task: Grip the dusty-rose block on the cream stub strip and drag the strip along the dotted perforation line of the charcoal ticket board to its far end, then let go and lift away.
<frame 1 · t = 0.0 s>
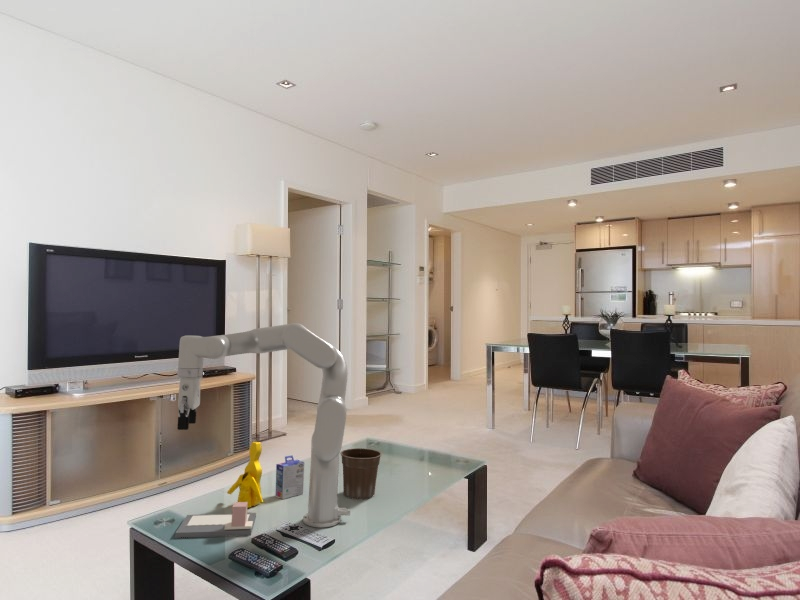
hand: (186, 426, 159), 31 cm above the table, tool pointing down, fingers open, 9 cm apart
plant pot: (359, 494, 192), on the table
ticket board: (217, 527, 156), on the table
stub: (239, 515, 153), point 5 cm above the table, slide at 0.0 cm
figure statuette: (248, 505, 176), on the table
ink cartridge box: (289, 495, 188), on the table
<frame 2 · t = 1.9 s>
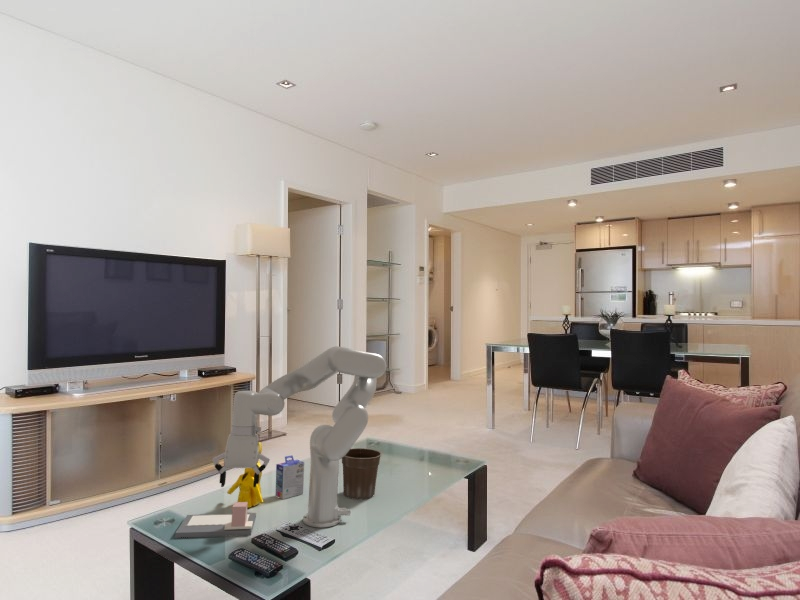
hand: (239, 485, 153), 14 cm above the table, tool pointing down, fingers open, 9 cm apart
nothing on the table moved.
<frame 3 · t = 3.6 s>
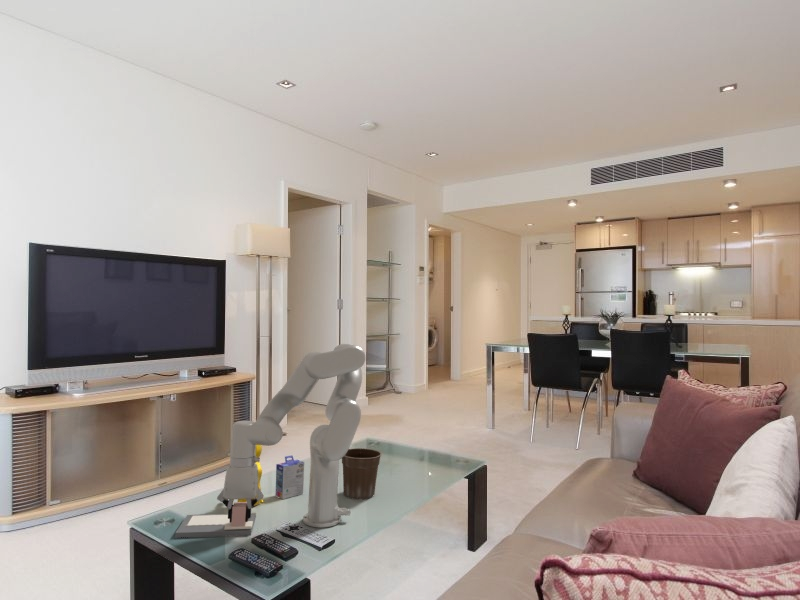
hand: (239, 520, 153), 4 cm above the table, tool pointing down, fingers closed on stub, 4 cm apart
stub: (239, 515, 153), point 5 cm above the table, slide at 0.0 cm, touching gripper
everything else where it was.
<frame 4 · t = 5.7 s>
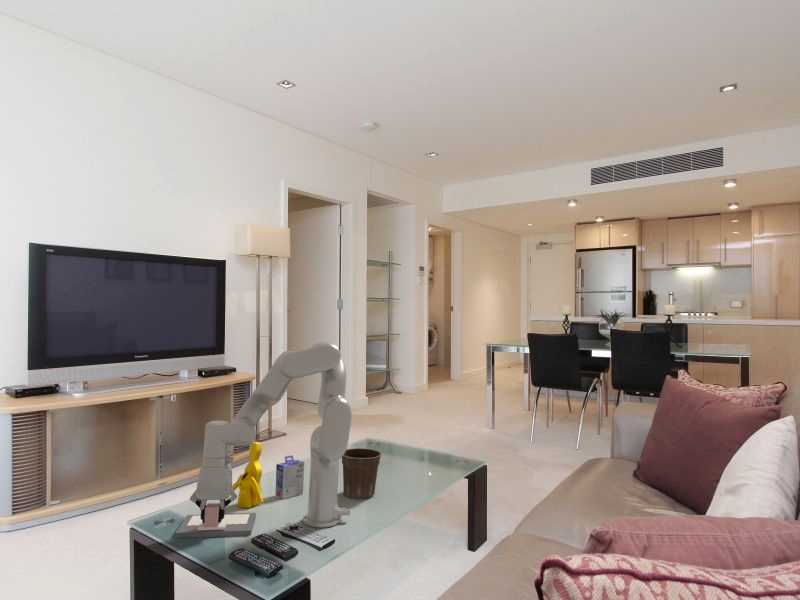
hand: (212, 520, 152), 4 cm above the table, tool pointing down, fingers closed on stub, 4 cm apart
stub: (212, 516, 152), point 5 cm above the table, slide at 8.0 cm, touching gripper
everything else where it was.
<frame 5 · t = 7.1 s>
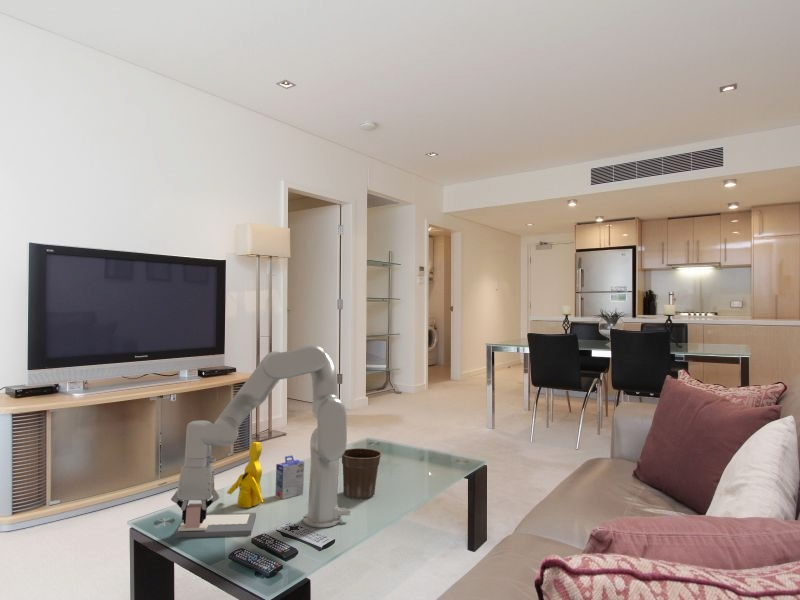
hand: (193, 521, 151), 4 cm above the table, tool pointing down, fingers closed on stub, 4 cm apart
stub: (194, 516, 151), point 5 cm above the table, slide at 13.4 cm, touching gripper
everything else where it was.
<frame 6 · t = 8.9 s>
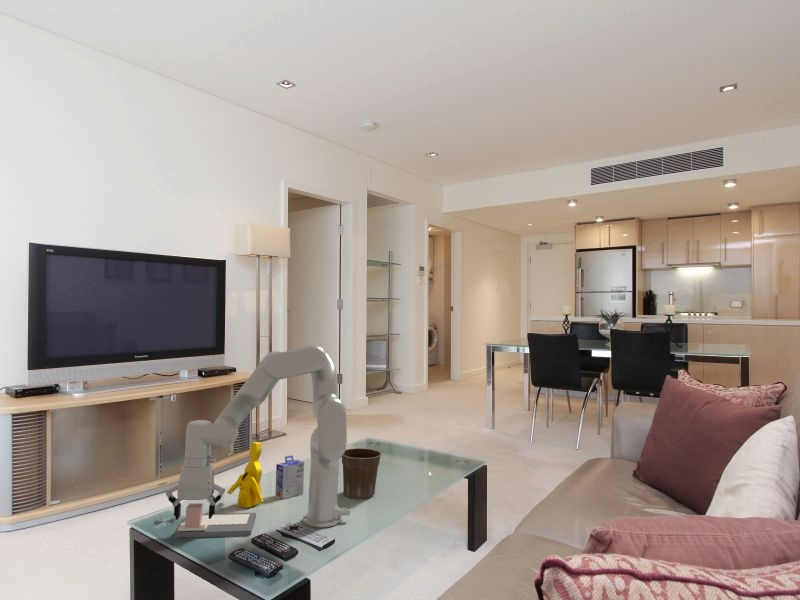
hand: (194, 517, 151), 5 cm above the table, tool pointing down, fingers open, 9 cm apart
stub: (194, 516, 151), point 5 cm above the table, slide at 13.5 cm
everything else where it was.
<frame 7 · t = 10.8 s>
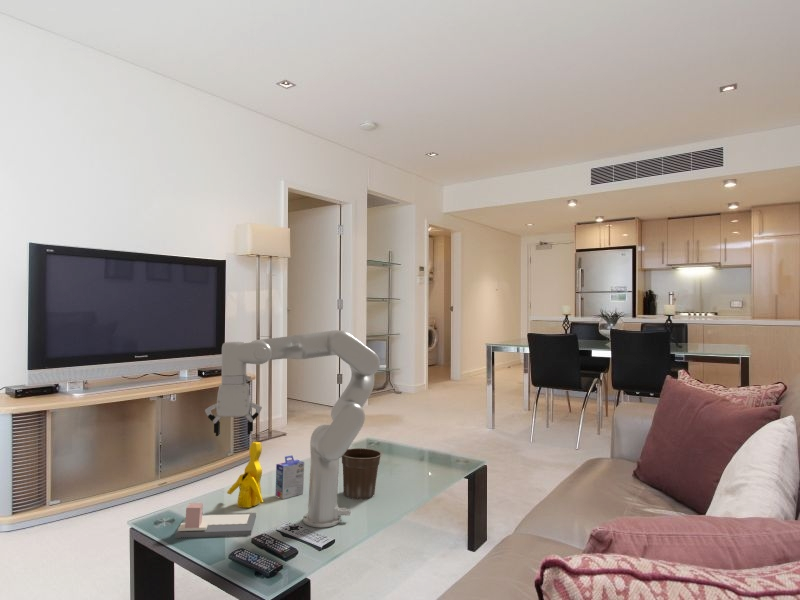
hand: (233, 434, 156), 30 cm above the table, tool pointing down, fingers open, 9 cm apart
nothing on the table moved.
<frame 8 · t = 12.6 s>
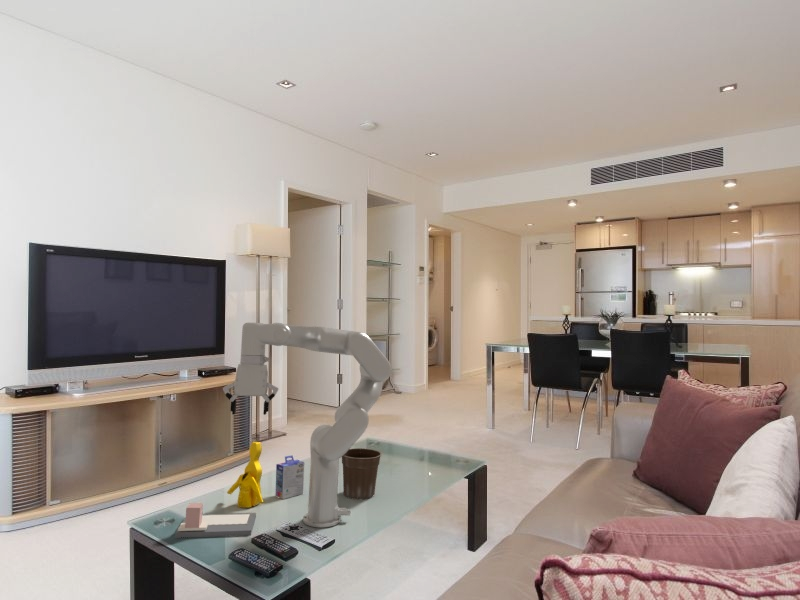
hand: (249, 413, 158), 36 cm above the table, tool pointing down, fingers open, 9 cm apart
nothing on the table moved.
at the end: stub slide at 13.5 cm; the gripper is holding nothing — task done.
